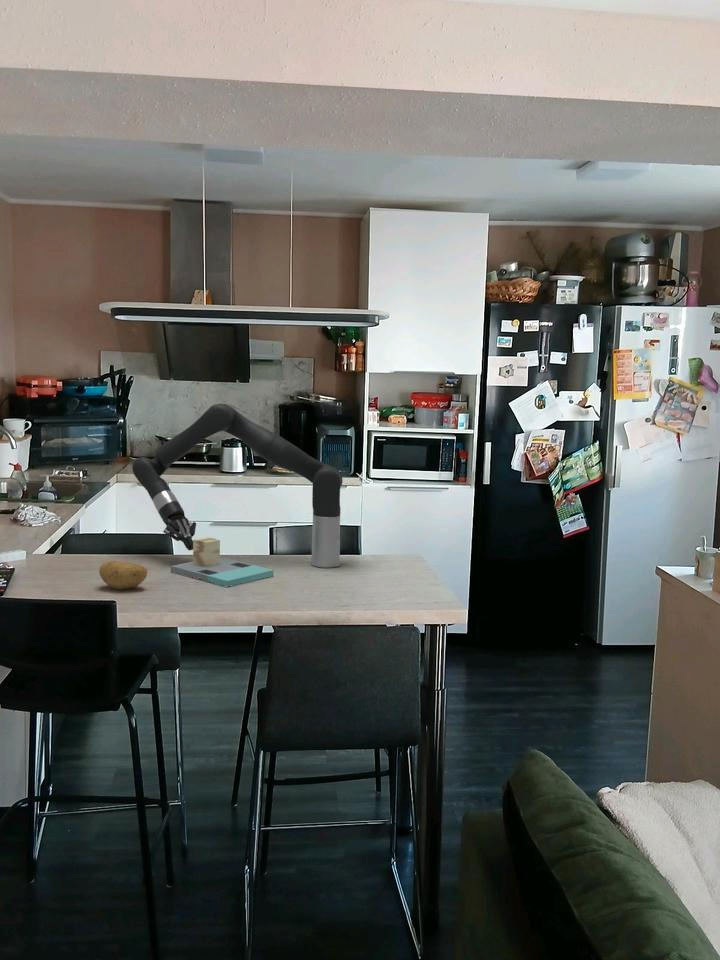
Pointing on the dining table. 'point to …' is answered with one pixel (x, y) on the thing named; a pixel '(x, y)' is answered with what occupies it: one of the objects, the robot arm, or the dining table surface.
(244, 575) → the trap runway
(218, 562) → the maple block
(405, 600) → the dining table surface
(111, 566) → the potato
